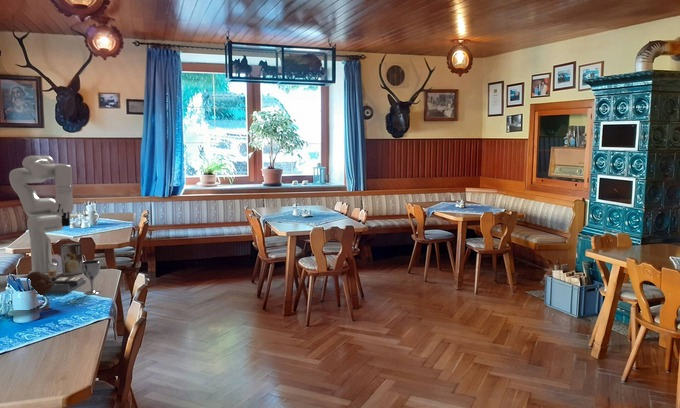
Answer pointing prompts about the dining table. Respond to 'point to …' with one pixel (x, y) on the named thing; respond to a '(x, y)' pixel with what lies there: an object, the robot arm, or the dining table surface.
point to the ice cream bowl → (40, 282)
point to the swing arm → (52, 269)
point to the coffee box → (71, 258)
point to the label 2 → (74, 279)
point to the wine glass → (91, 273)
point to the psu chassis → (65, 285)
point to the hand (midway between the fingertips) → (66, 225)
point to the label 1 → (61, 279)
